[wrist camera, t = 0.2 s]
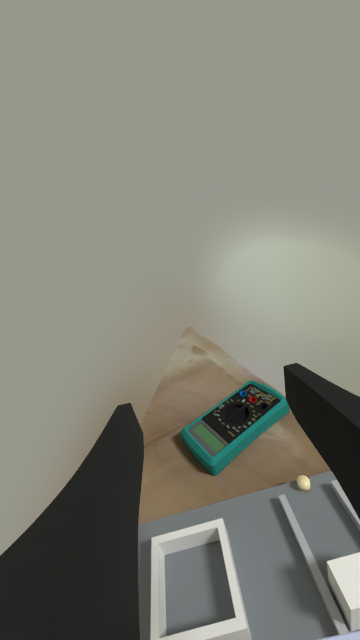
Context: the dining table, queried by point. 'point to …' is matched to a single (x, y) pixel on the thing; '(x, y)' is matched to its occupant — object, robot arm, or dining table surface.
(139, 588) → the panel
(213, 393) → the dining table surface
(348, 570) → the block
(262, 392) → the digital multimeter
